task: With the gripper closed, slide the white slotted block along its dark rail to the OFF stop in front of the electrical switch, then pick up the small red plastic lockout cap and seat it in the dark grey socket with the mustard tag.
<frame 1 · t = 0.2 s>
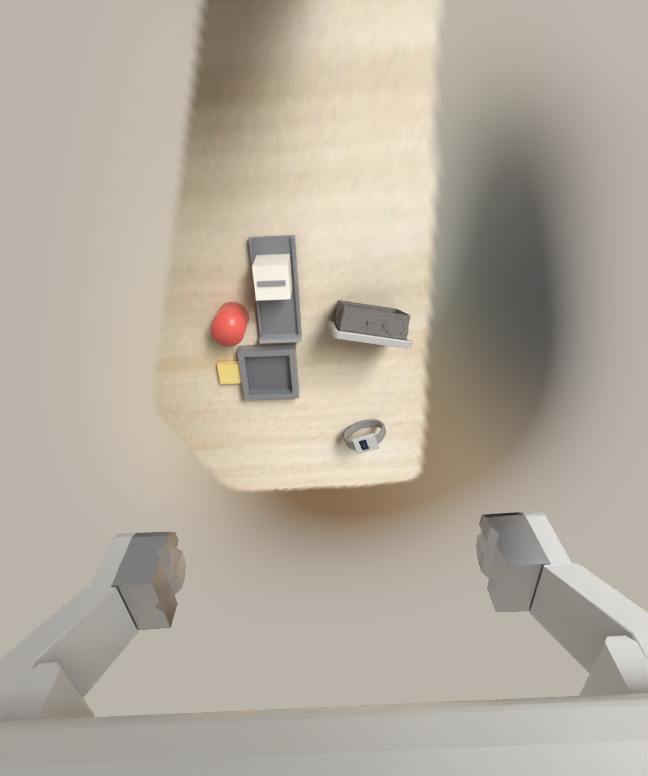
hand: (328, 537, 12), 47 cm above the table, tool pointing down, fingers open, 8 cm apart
lockout cap: (233, 316, 59), on the table
white slotted block: (273, 277, 54), point 3 cm above the table, slide at 0.0 cm
wristwatch: (363, 422, 69), on the table
electrical switch: (364, 310, 59), on the table
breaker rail: (275, 269, 56), on the table
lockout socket: (270, 369, 64), on the table
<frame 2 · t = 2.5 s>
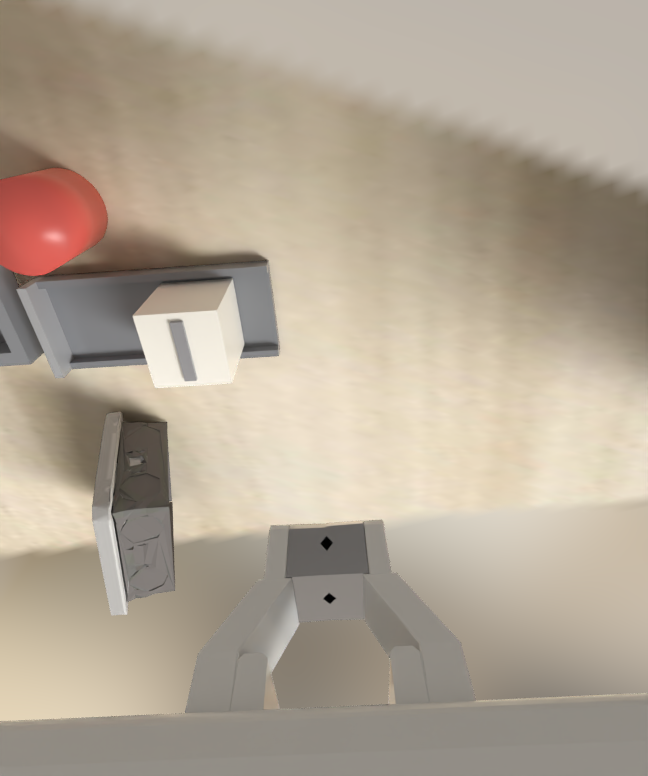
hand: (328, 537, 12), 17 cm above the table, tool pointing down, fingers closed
lockout cap: (67, 210, 24), on the table
white slotted block: (194, 332, 24), point 3 cm above the table, slide at 0.0 cm
electrical switch: (155, 458, 33), on the table
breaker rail: (206, 311, 27), on the table
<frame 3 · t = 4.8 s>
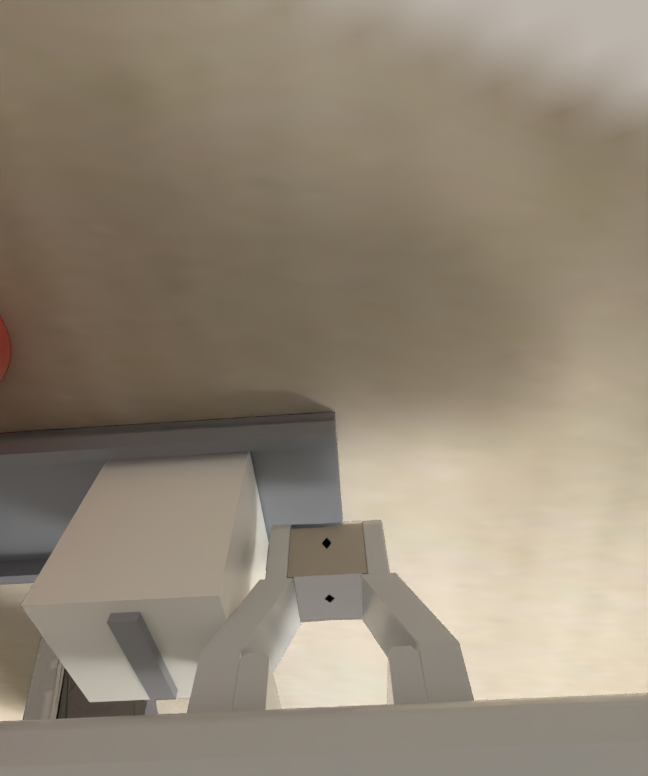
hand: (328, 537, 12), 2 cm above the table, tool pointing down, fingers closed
white slotted block: (173, 570, 12), point 3 cm above the table, slide at 0.5 cm, touching gripper
electrical switch: (130, 671, 21), on the table
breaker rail: (212, 490, 14), on the table
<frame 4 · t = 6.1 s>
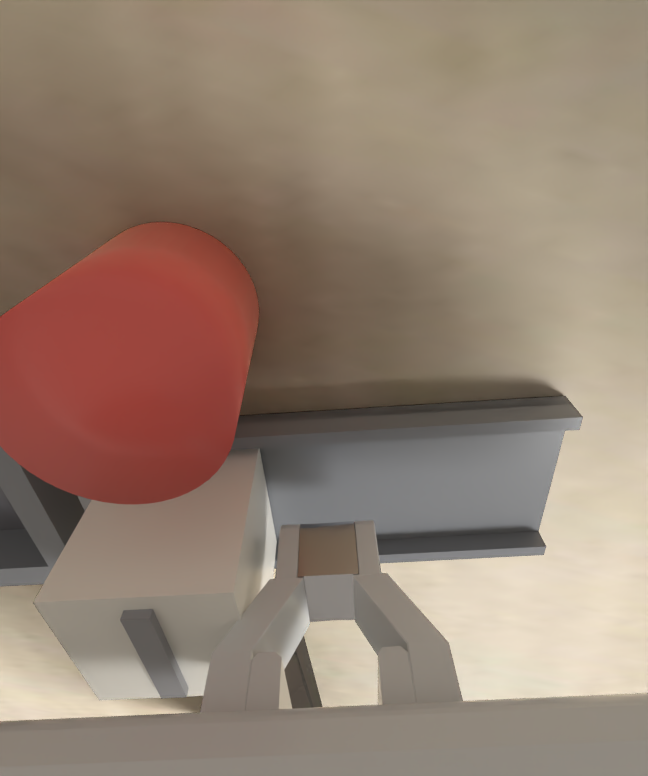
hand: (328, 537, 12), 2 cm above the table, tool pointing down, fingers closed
lockout cap: (176, 307, 11), on the table
white slotted block: (183, 567, 12), point 3 cm above the table, slide at 6.5 cm, touching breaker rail, gripper
electrical switch: (269, 664, 20), on the table
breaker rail: (415, 477, 14), on the table
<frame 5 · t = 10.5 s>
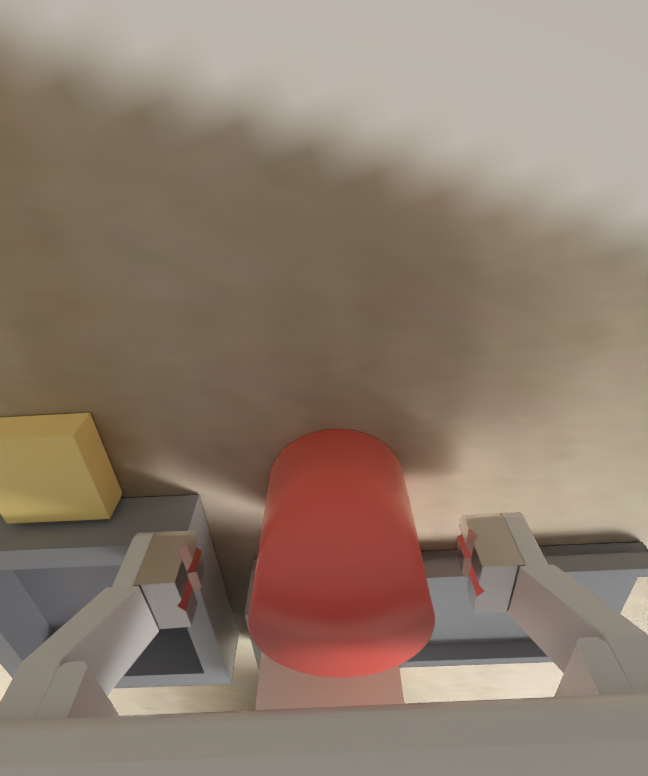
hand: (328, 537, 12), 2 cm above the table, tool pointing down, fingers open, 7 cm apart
lockout cap: (336, 483, 14), on the table
white slotted block: (332, 687, 14), point 3 cm above the table, slide at 6.5 cm, touching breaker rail
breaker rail: (508, 596, 17), on the table
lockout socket: (113, 578, 16), on the table
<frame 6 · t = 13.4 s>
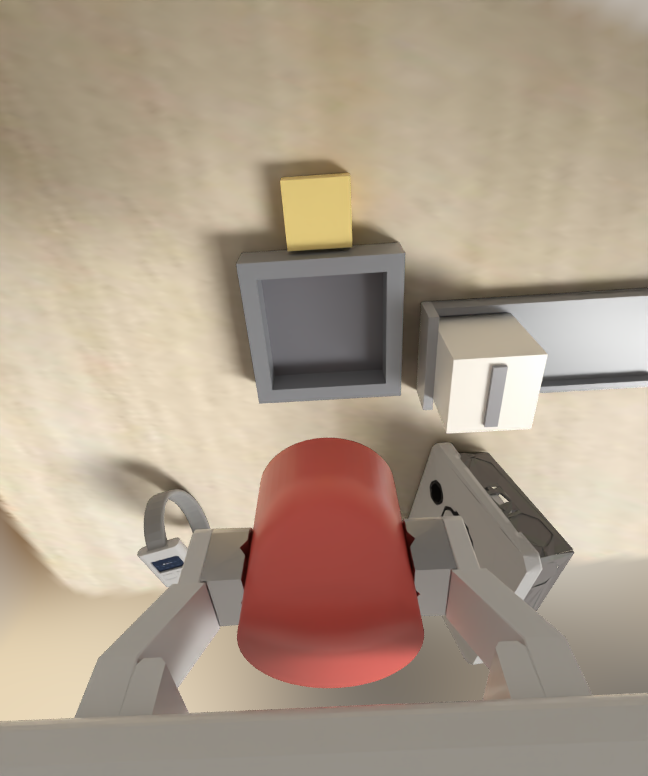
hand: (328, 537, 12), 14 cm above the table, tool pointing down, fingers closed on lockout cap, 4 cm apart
lockout cap: (327, 490, 14), point 12 cm above the table, touching gripper
white slotted block: (480, 372, 23), point 3 cm above the table, slide at 6.5 cm, touching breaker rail
wristwatch: (191, 502, 31), on the table
electrical switch: (454, 488, 31), on the table
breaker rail: (585, 338, 25), on the table
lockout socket: (325, 320, 24), on the table
when the fingers open (3 cm above the table, at t = 15.6 s): lockout cap drops 1 cm, resting on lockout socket.
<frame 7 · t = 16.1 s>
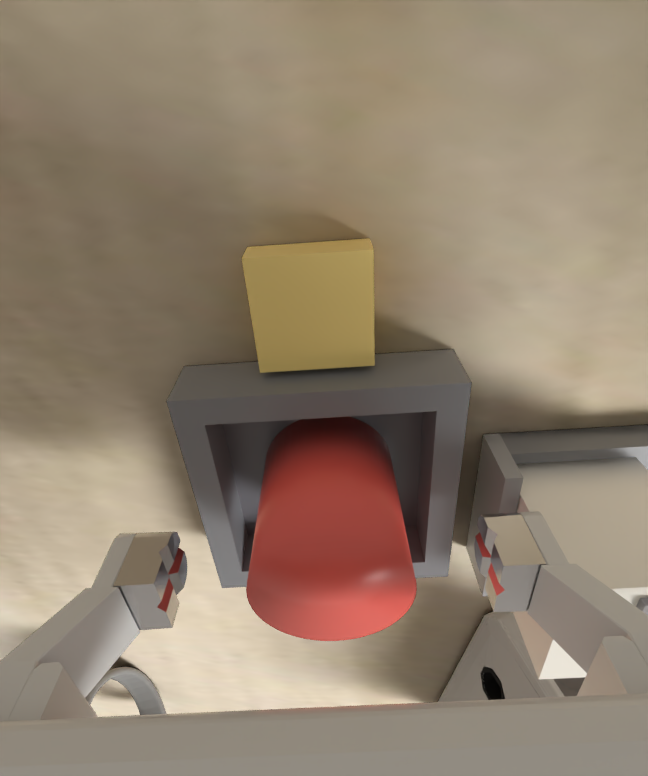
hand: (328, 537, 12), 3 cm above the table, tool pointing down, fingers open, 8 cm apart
lockout cap: (328, 465, 15), resting on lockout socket
white slotted block: (590, 562, 13), point 3 cm above the table, slide at 6.5 cm, touching gripper
wristwatch: (137, 672, 22), on the table
electrical switch: (510, 654, 22), on the table
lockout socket: (326, 460, 15), on the table
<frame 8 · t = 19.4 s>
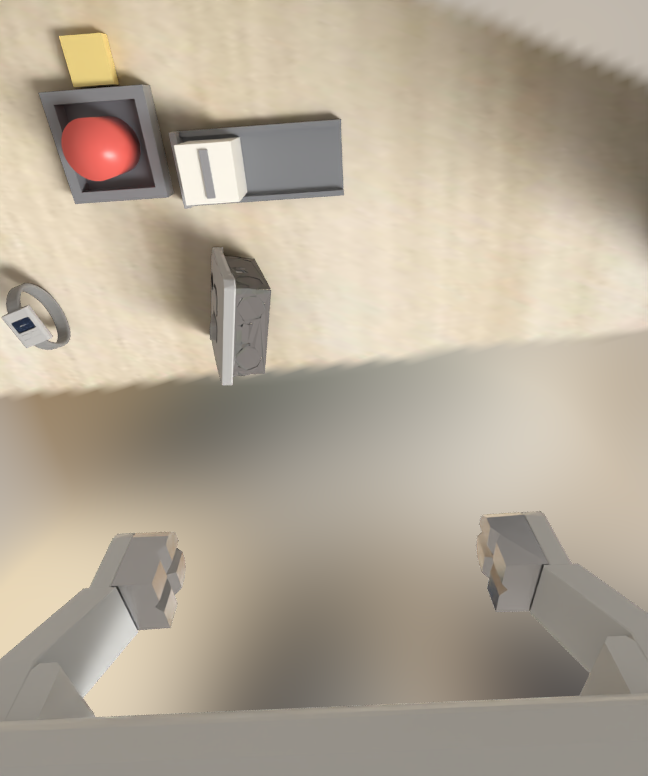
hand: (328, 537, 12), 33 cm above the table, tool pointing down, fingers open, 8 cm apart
lockout cap: (114, 145, 36), resting on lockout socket
white slotted block: (213, 170, 35), point 3 cm above the table, slide at 5.9 cm
wristwatch: (55, 305, 44), on the table
electrical switch: (241, 293, 43), on the table
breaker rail: (292, 161, 37), on the table
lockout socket: (115, 145, 37), on the table
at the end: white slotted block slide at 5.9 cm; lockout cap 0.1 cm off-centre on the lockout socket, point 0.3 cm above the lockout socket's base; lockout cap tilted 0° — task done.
